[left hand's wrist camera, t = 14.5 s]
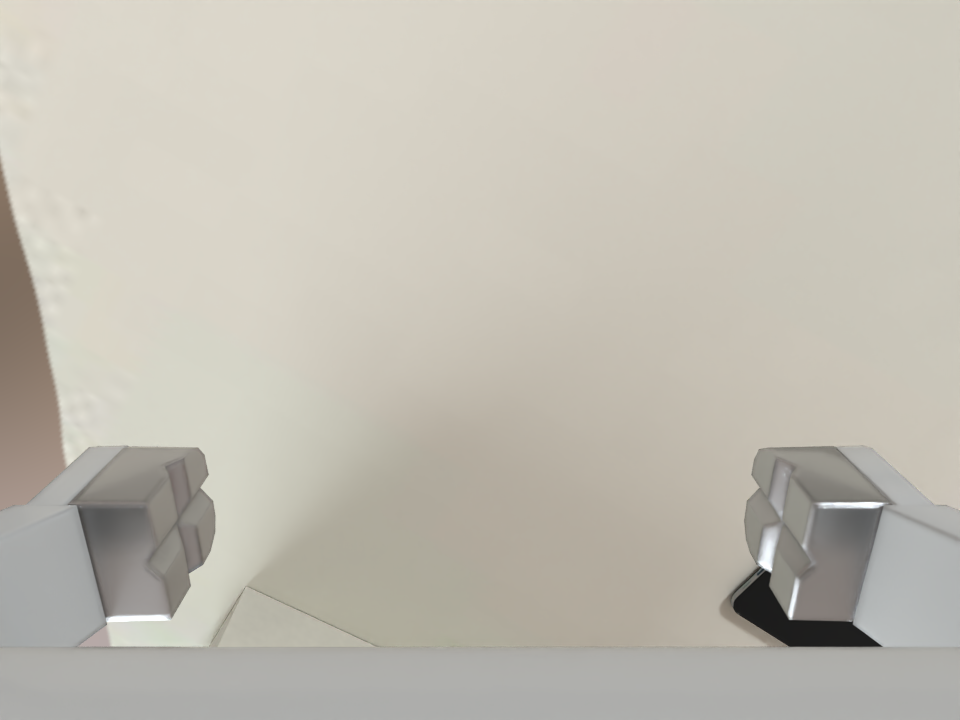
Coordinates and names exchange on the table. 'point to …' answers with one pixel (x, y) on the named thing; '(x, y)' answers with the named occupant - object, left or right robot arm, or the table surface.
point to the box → (277, 626)
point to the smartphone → (769, 616)
